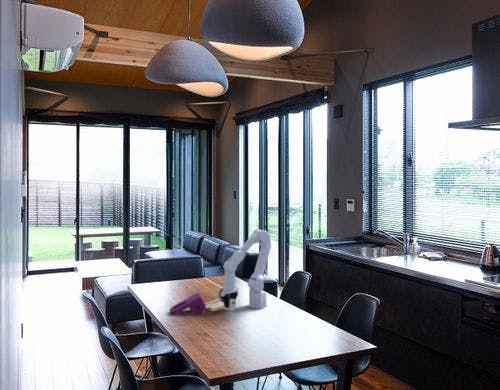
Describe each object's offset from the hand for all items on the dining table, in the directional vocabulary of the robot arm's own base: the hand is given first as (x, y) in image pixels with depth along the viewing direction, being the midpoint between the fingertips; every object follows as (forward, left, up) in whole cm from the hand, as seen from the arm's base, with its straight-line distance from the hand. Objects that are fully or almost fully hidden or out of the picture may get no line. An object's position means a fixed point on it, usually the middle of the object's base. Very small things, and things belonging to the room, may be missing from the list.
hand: (229, 306), depth 260 cm
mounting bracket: (+15, +19, -2) cm, 24 cm away
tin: (+12, -15, -2) cm, 19 cm away
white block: (0, 0, -2) cm, 2 cm away
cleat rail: (+8, +2, -1) cm, 8 cm away
